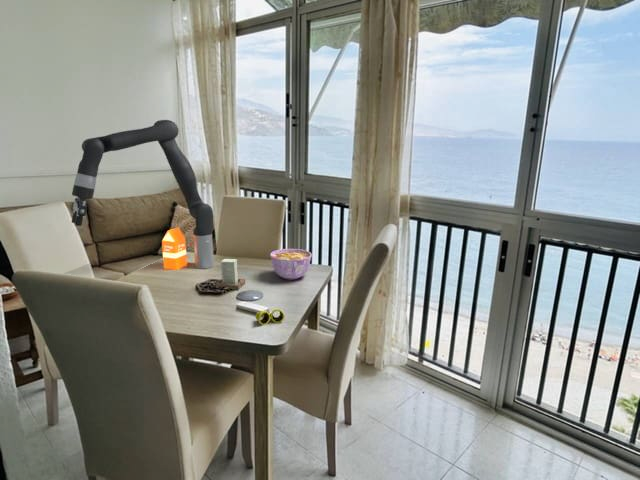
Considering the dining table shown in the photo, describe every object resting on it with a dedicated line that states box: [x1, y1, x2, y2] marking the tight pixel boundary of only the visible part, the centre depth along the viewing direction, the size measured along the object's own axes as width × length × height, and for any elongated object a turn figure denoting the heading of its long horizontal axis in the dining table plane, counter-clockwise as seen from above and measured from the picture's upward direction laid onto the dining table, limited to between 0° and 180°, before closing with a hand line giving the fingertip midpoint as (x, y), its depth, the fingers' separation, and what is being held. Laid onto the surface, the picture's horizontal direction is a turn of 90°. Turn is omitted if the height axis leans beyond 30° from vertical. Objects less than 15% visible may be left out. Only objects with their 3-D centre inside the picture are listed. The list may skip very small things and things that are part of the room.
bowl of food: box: [269, 248, 313, 280], centre depth 191 cm, size 20×20×12 cm
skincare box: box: [220, 258, 239, 284], centre depth 178 cm, size 6×4×12 cm
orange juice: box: [161, 227, 188, 271], centre depth 202 cm, size 8×9×20 cm
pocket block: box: [214, 277, 246, 291], centre depth 179 cm, size 9×11×2 cm
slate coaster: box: [236, 289, 264, 302], centre depth 168 cm, size 11×11×1 cm
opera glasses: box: [255, 308, 285, 326], centre depth 145 cm, size 10×5×5 cm, turn 113°
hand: (76, 224), depth 163 cm, fingers open, 8 cm apart
